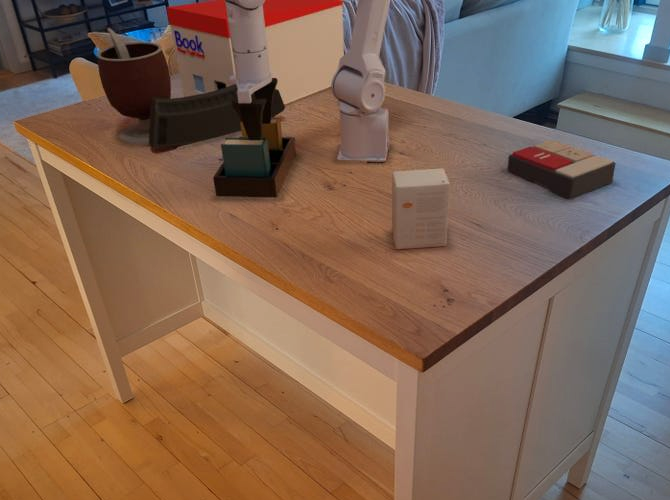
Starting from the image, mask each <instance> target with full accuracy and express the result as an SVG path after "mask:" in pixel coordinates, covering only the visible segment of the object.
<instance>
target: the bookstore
mask: <svg viewBox="0 0 670 500" xmlns="http://www.w3.org/2000/svg"><path fill="white" fill-rule="evenodd" d="M262 5H263V14H264V22H265V31H266V40H267V49H268V58H269V67H270V73H271V75H272V78H276V79H277V80H278V83H277V85H276V89H278V90H279V92H280V95H281V98H282V100H283V103H284V106H285V105H287V104H290V103H292V102H295V101H297V100H300V99H302V98H306V97H309V96H311V95H313V94H315V93H318V92H321V91H323V90H324V91H325V90H326V89H329V88H331V83H332V79H333V76H334V74H335V73H336V71H337V69H338V66H339V62H340V59H341V58H342V57H343V56H344V55H345V46H344V42H345V41H344V17H343V16H344V14H343V12H344V11H343V5H344V2H343V0H265V2H264V3H263V4H262ZM166 13H167V19H168V24H169V26H170V30H171V31H170V32H171V36H172V37H171V38H172V42H173V48H174V52H175V57H176V63H177V68H178V73H179V78H180V84H181V89H182V90H181V91H182V95H183V97H187V96H192V95H198V94H204V93H208V92H212V91H216V90H219V89H222V88H225V87H229V86H231V85H234V84H236V83H230V80H229V78H230V77H231V76H232V75H236V73H235V66H234V59H233V52H232V45H231V38H230V31H229V24H228V16H227V9H226V3H225V1H224V0H208V1H199V2H193V3H192V2H191V3H186V4H178V5H172V6H166Z"/></svg>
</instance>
